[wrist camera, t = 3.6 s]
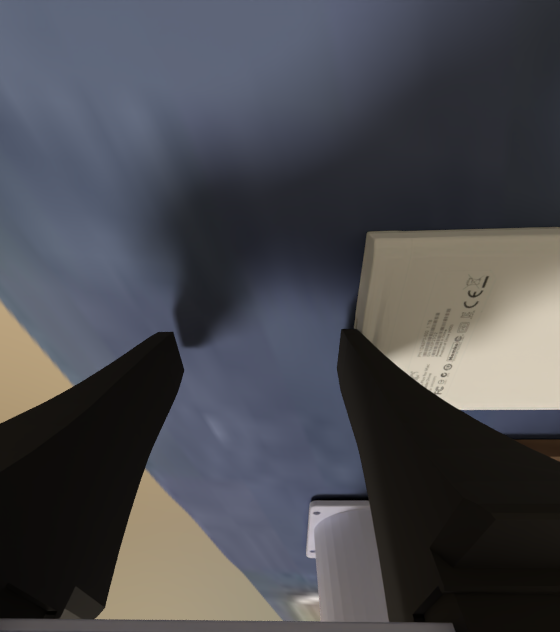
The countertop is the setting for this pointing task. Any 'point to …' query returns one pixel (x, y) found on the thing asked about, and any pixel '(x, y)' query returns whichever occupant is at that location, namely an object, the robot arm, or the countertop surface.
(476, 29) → the countertop surface
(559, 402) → the external hard drive
